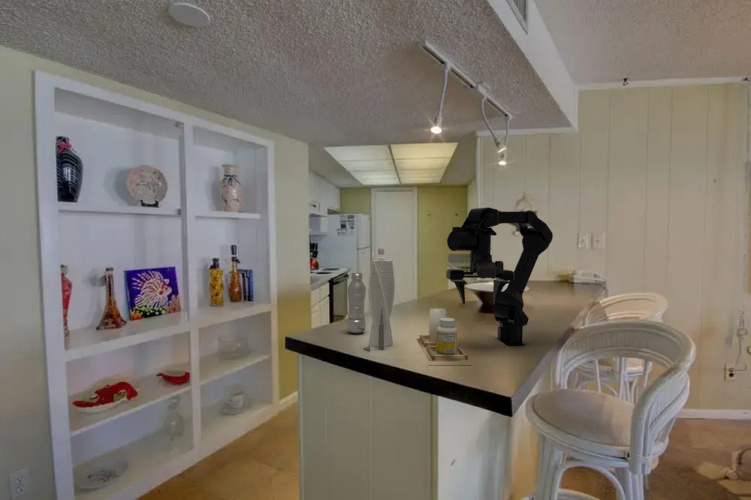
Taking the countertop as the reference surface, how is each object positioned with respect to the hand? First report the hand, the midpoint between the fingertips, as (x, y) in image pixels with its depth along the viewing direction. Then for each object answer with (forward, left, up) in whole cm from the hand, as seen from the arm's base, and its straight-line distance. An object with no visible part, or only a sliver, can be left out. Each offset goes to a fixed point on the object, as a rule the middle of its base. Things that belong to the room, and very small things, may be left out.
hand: (479, 304), depth 116 cm
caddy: (+12, +5, -13) cm, 18 cm away
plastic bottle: (+36, -18, -13) cm, 42 cm away
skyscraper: (+29, +1, -13) cm, 32 cm away
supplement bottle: (+12, +11, -12) cm, 20 cm away
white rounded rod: (+12, -1, -12) cm, 17 cm away
